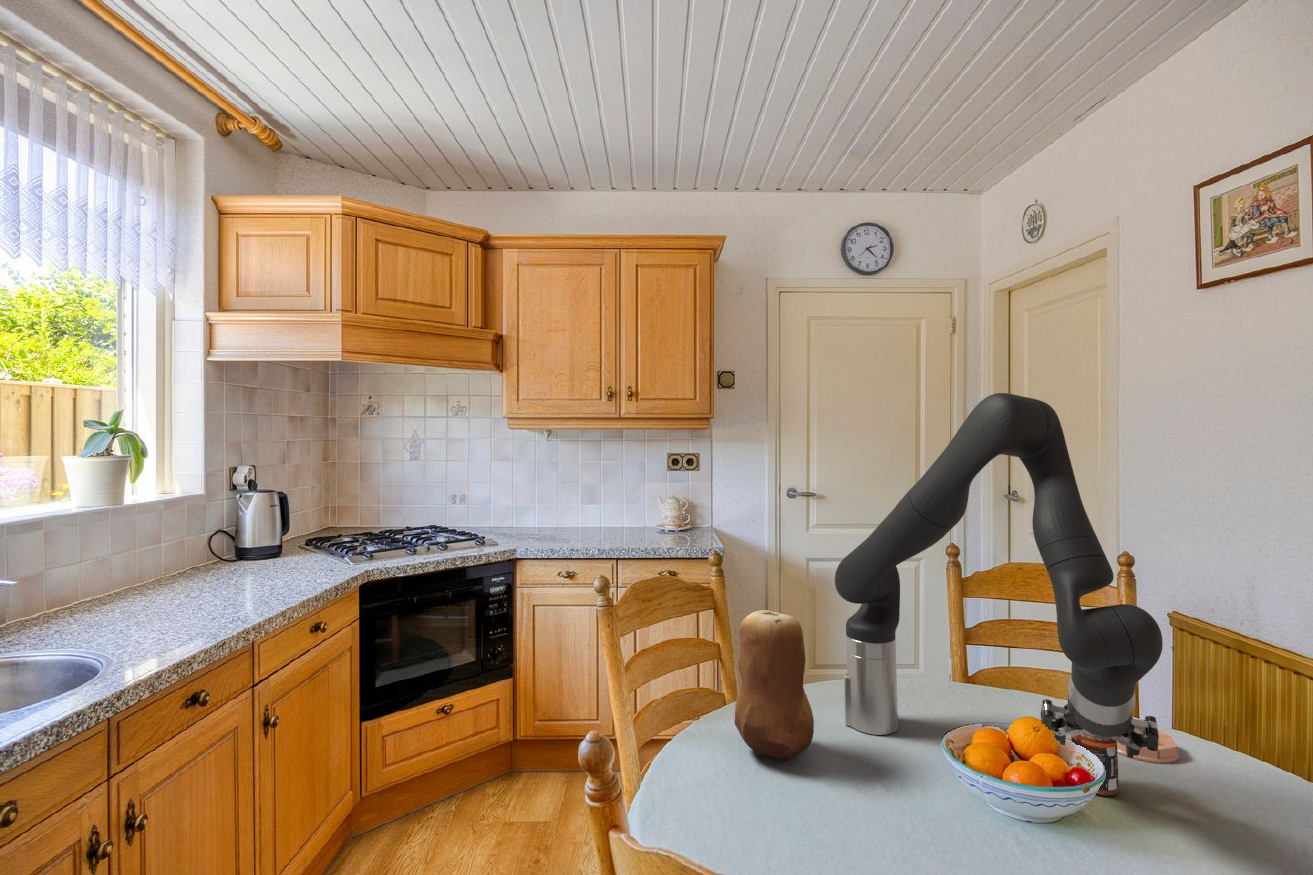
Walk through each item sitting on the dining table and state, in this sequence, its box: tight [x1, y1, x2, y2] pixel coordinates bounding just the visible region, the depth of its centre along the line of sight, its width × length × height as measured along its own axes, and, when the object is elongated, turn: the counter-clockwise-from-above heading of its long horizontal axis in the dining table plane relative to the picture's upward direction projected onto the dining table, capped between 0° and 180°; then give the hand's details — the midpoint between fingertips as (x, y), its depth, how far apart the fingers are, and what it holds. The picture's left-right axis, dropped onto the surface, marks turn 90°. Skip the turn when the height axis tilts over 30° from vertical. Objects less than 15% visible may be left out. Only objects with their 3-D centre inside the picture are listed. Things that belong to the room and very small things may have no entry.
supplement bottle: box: [1070, 726, 1120, 797], centre depth 96 cm, size 6×6×11 cm
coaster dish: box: [1117, 728, 1180, 764], centre depth 108 cm, size 11×11×2 cm
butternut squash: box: [734, 609, 815, 761], centre depth 109 cm, size 14×13×25 cm
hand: (1094, 744), depth 95 cm, fingers open, 8 cm apart
